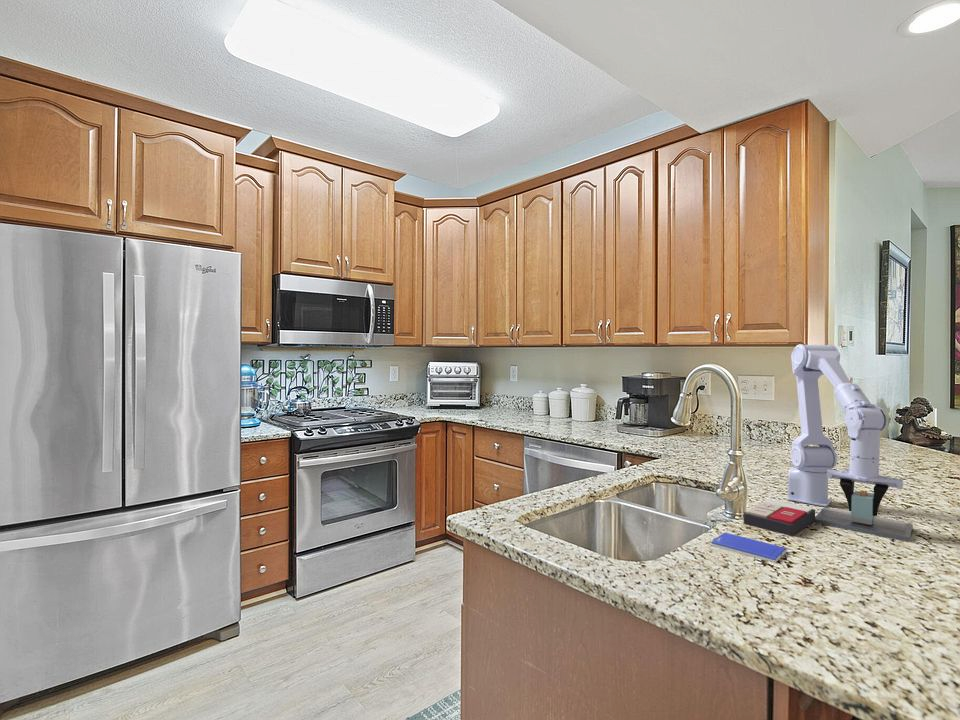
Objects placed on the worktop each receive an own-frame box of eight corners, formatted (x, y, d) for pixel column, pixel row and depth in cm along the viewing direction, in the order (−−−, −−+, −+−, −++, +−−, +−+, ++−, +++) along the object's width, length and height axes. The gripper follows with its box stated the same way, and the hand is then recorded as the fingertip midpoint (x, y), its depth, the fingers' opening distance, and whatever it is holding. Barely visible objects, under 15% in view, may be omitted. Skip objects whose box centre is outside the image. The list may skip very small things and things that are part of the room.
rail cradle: (813, 522, 125) (814, 512, 125) (823, 511, 134) (823, 502, 134) (909, 541, 113) (909, 530, 113) (912, 528, 122) (913, 518, 122)
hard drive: (711, 540, 110) (775, 557, 101) (724, 531, 115) (787, 546, 107) (710, 548, 110) (775, 565, 101) (724, 538, 116) (786, 554, 107)
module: (851, 521, 123) (851, 492, 123) (854, 515, 127) (855, 487, 127) (871, 525, 120) (872, 495, 120) (874, 519, 125) (875, 490, 124)
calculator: (742, 510, 124) (767, 496, 134) (742, 527, 124) (767, 512, 134) (792, 522, 116) (815, 506, 125) (792, 540, 116) (815, 523, 125)
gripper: (825, 454, 125) (824, 509, 126) (902, 464, 115) (900, 523, 116) (830, 450, 130) (829, 503, 131) (904, 459, 121) (902, 516, 121)
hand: (863, 512), depth 124 cm, fingers closed on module, 4 cm apart
